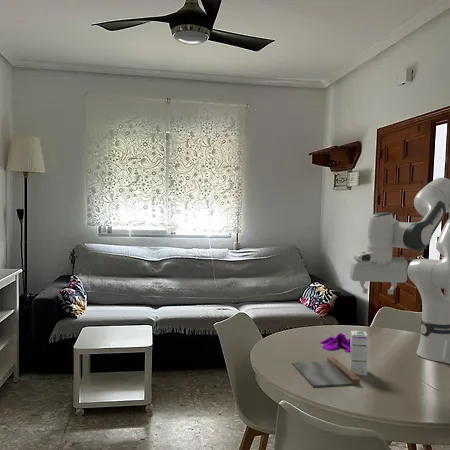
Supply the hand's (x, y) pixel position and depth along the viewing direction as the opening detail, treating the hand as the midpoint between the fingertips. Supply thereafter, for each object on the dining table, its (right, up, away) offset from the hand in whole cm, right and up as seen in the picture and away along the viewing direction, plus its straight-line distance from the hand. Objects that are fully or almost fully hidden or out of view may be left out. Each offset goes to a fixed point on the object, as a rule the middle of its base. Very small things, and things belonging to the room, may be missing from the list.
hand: (377, 293), depth 167 cm
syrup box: (-8, -28, -2) cm, 29 cm away
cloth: (-7, -27, +29) cm, 41 cm away
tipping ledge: (-21, -28, -5) cm, 35 cm away
